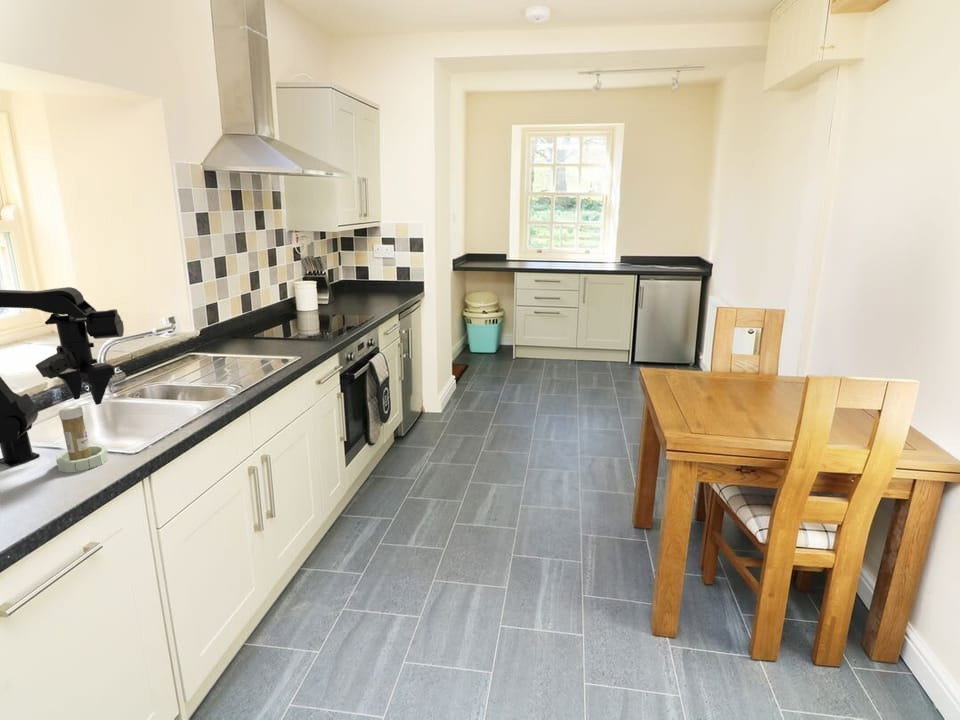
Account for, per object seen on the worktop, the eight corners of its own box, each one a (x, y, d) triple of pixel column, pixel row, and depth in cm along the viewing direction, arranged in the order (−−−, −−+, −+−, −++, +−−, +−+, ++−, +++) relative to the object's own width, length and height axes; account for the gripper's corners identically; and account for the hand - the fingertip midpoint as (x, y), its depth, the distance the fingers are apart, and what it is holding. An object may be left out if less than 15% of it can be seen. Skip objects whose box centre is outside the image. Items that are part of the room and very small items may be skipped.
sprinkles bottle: (93, 462, 138) (82, 409, 135) (70, 467, 136) (58, 413, 132) (92, 455, 142) (81, 404, 139) (69, 460, 140) (58, 408, 136)
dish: (50, 467, 137) (47, 457, 137) (93, 451, 146) (91, 442, 145) (73, 475, 133) (71, 465, 132) (117, 458, 141) (115, 449, 141)
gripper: (16, 344, 137) (31, 406, 141) (59, 352, 128) (74, 418, 132) (66, 334, 146) (79, 393, 150) (110, 341, 138) (122, 403, 142)
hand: (87, 401), depth 143 cm, fingers open, 9 cm apart
